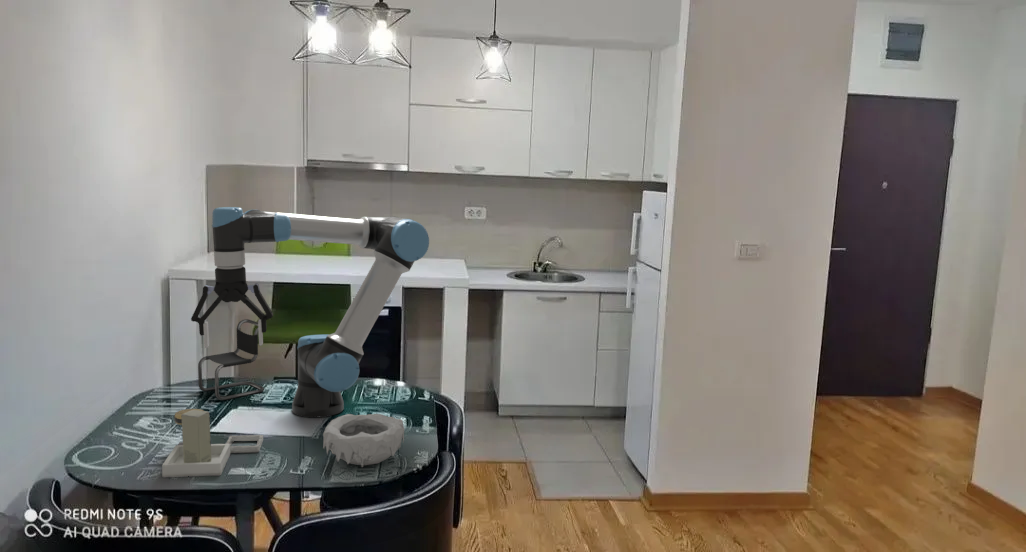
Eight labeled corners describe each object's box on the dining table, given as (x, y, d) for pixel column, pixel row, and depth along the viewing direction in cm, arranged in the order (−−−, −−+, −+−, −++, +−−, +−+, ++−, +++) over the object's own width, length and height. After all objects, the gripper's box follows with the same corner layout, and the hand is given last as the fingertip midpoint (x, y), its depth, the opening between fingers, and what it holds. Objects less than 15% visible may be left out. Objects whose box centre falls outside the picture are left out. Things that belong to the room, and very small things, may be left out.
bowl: (410, 472, 187) (411, 433, 186) (324, 479, 182) (324, 439, 180) (398, 442, 207) (399, 407, 206) (321, 448, 201) (321, 411, 200)
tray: (230, 454, 194) (230, 443, 194) (220, 475, 182) (220, 463, 181) (176, 456, 192) (175, 445, 192) (162, 477, 179) (162, 465, 179)
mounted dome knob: (208, 443, 201) (208, 408, 200) (202, 454, 194) (202, 417, 193) (178, 444, 200) (177, 408, 198) (171, 455, 193) (170, 418, 191)
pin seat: (263, 440, 205) (263, 434, 205) (258, 452, 197) (258, 446, 197) (230, 441, 204) (229, 435, 203) (224, 453, 195) (224, 447, 195)
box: (212, 461, 188) (211, 411, 186) (199, 468, 184) (198, 417, 182) (194, 458, 190) (193, 408, 188) (181, 464, 186) (180, 413, 184)
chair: (268, 391, 248) (267, 325, 245) (216, 402, 235) (214, 332, 232) (249, 382, 257) (248, 318, 253) (198, 392, 244) (196, 325, 241)
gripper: (280, 263, 206) (283, 339, 209) (181, 265, 200) (186, 344, 204) (278, 267, 199) (282, 346, 202) (176, 270, 193) (181, 351, 196)
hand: (234, 345), depth 203 cm, fingers open, 13 cm apart
